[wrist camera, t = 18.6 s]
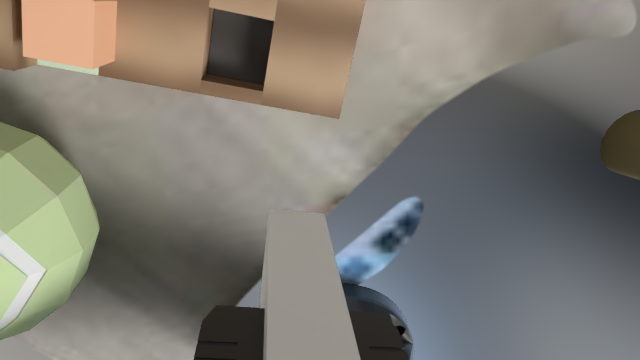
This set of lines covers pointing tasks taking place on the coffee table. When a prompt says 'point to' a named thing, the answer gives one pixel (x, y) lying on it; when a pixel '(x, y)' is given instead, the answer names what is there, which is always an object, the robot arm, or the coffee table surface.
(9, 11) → the wooden box
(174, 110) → the coffee table surface
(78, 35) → the cube
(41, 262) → the decorative sphere
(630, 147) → the cork
